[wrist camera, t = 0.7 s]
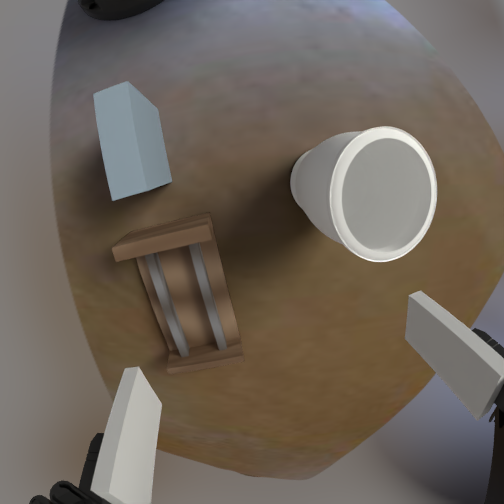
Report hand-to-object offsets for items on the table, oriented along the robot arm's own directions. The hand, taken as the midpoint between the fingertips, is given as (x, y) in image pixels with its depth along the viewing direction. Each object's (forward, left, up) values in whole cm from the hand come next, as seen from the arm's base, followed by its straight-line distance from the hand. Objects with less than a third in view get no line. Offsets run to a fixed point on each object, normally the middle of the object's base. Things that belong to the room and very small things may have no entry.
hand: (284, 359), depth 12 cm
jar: (-5, +11, -23) cm, 26 cm away
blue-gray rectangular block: (-13, -8, -23) cm, 27 cm away
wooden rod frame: (+5, -8, -23) cm, 25 cm away
